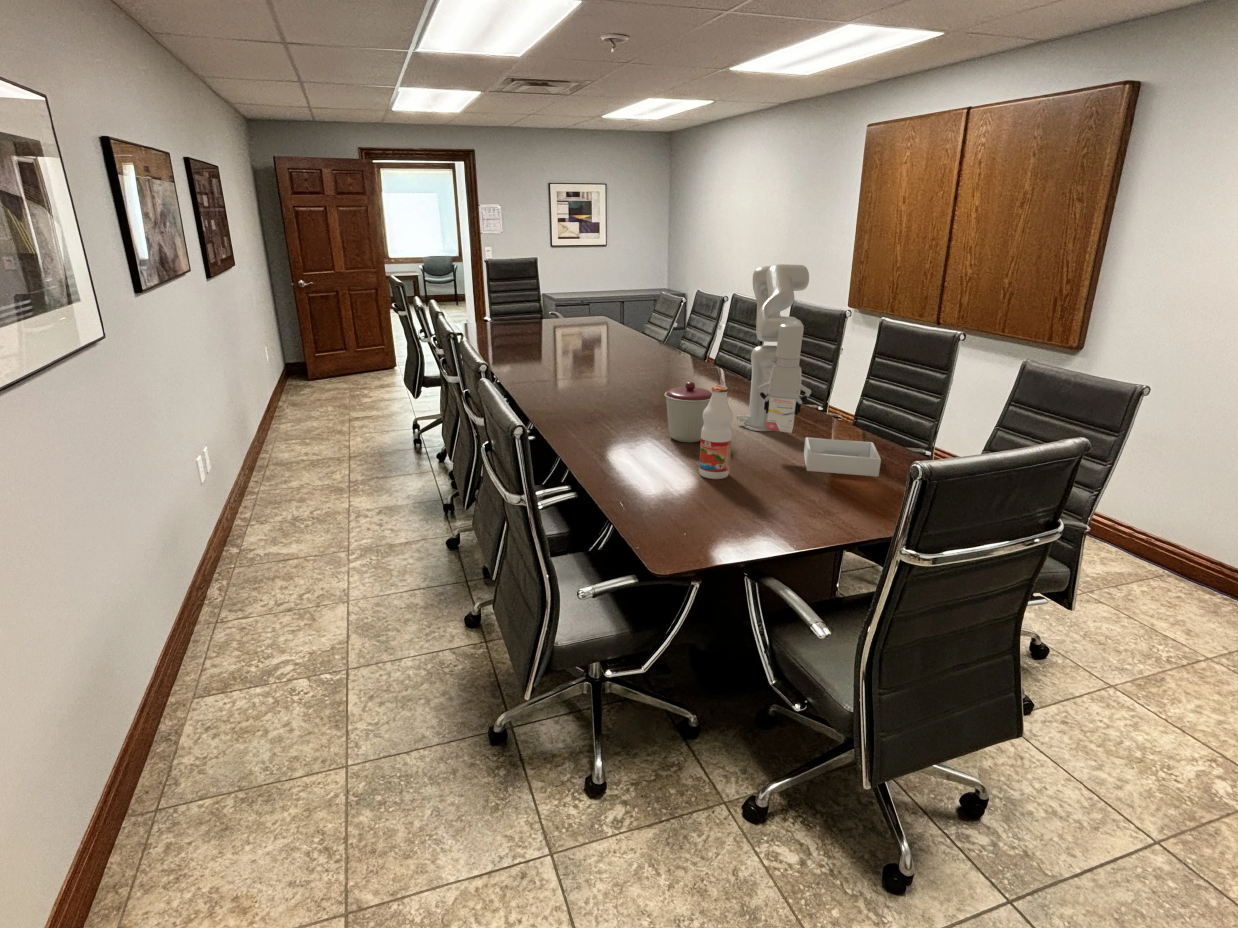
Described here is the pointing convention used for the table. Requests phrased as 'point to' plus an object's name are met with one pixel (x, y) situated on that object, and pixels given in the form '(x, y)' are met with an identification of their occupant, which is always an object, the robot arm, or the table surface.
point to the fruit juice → (716, 436)
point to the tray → (841, 457)
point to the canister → (686, 411)
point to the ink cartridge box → (781, 414)
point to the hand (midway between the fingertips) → (781, 413)
